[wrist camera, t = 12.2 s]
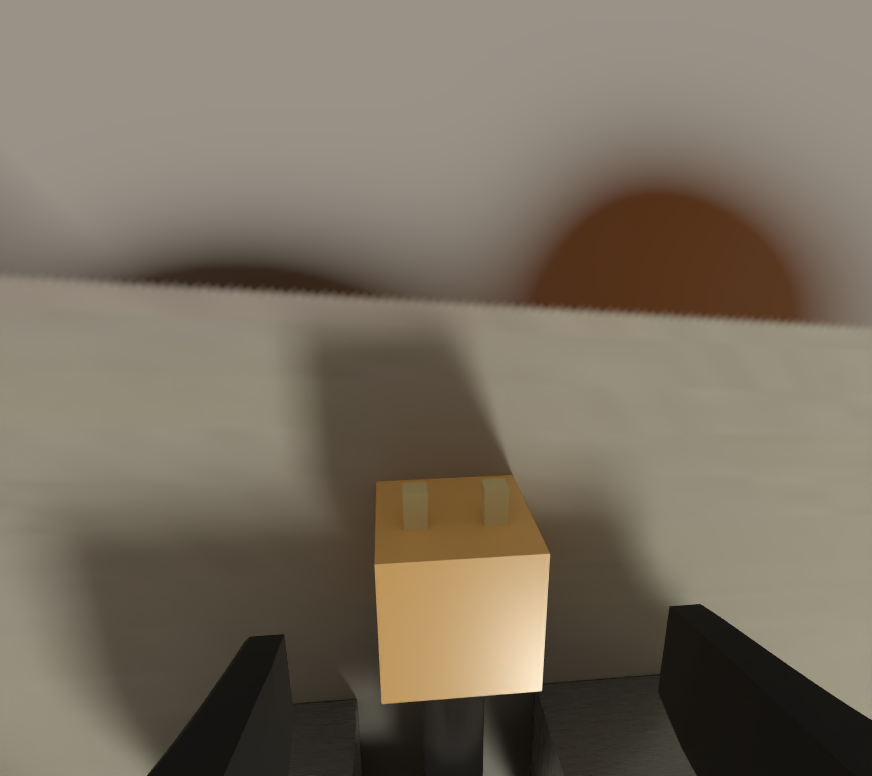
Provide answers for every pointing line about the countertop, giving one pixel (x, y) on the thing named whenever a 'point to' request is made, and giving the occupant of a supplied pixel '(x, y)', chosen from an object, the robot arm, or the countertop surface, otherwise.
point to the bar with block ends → (458, 606)
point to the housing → (552, 733)
